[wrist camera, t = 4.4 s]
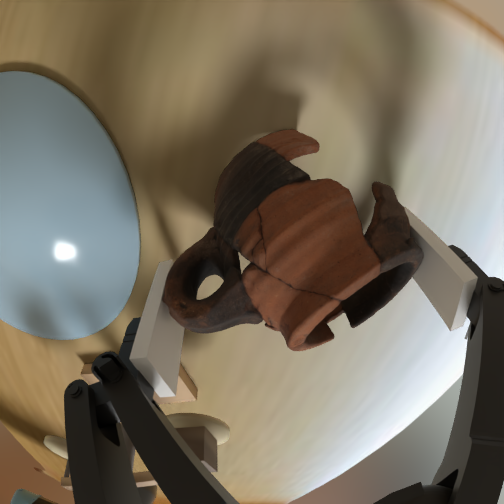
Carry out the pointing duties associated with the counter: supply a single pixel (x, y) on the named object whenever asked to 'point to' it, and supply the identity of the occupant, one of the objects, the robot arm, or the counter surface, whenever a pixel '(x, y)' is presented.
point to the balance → (187, 424)
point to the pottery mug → (291, 250)
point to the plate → (61, 213)
